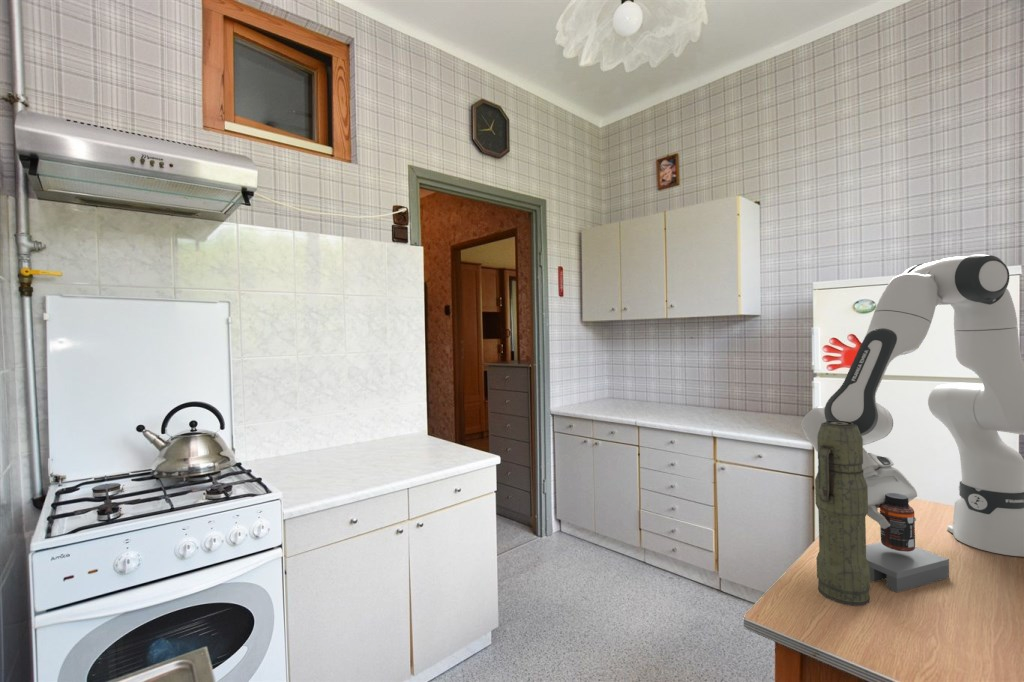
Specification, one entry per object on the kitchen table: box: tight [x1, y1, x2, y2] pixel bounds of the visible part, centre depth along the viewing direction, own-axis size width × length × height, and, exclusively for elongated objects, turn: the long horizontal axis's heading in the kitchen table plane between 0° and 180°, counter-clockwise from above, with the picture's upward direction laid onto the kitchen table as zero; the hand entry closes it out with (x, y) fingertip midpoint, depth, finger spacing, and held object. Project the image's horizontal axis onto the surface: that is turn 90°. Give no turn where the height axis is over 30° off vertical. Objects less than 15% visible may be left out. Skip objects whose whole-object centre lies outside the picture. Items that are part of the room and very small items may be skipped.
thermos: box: [814, 421, 871, 607], centre depth 97 cm, size 9×12×35 cm
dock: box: [866, 541, 950, 593], centre depth 105 cm, size 16×11×4 cm
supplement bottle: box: [879, 493, 916, 551], centre depth 105 cm, size 6×6×11 cm
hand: (900, 524), depth 105 cm, fingers closed on supplement bottle, 6 cm apart
